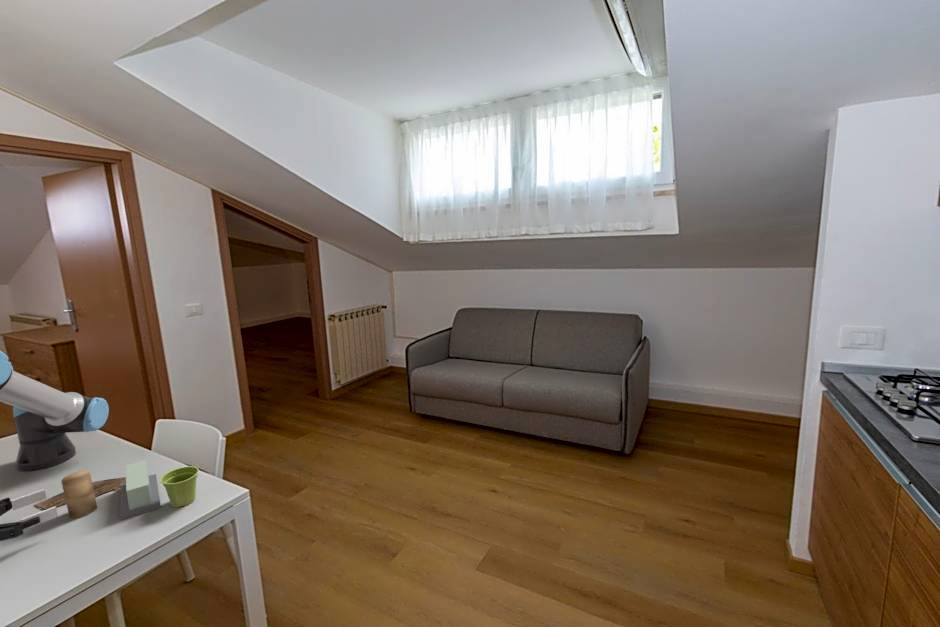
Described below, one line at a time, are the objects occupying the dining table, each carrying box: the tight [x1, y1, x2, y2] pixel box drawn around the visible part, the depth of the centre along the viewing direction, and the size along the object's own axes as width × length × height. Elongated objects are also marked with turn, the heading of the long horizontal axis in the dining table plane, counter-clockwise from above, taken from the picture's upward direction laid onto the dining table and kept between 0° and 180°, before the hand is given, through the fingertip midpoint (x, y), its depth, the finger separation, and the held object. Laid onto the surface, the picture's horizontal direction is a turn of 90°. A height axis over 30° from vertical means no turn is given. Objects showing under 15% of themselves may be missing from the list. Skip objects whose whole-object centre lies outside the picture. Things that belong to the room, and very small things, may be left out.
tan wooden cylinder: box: [60, 470, 98, 519], centre depth 122 cm, size 6×6×11 cm
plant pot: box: [160, 465, 200, 508], centre depth 126 cm, size 9×9×9 cm
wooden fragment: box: [33, 476, 126, 511], centre depth 133 cm, size 26×11×1 cm, turn 128°
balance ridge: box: [119, 459, 162, 521], centre depth 129 cm, size 20×9×8 cm, turn 39°
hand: (51, 502), depth 117 cm, fingers open, 13 cm apart
